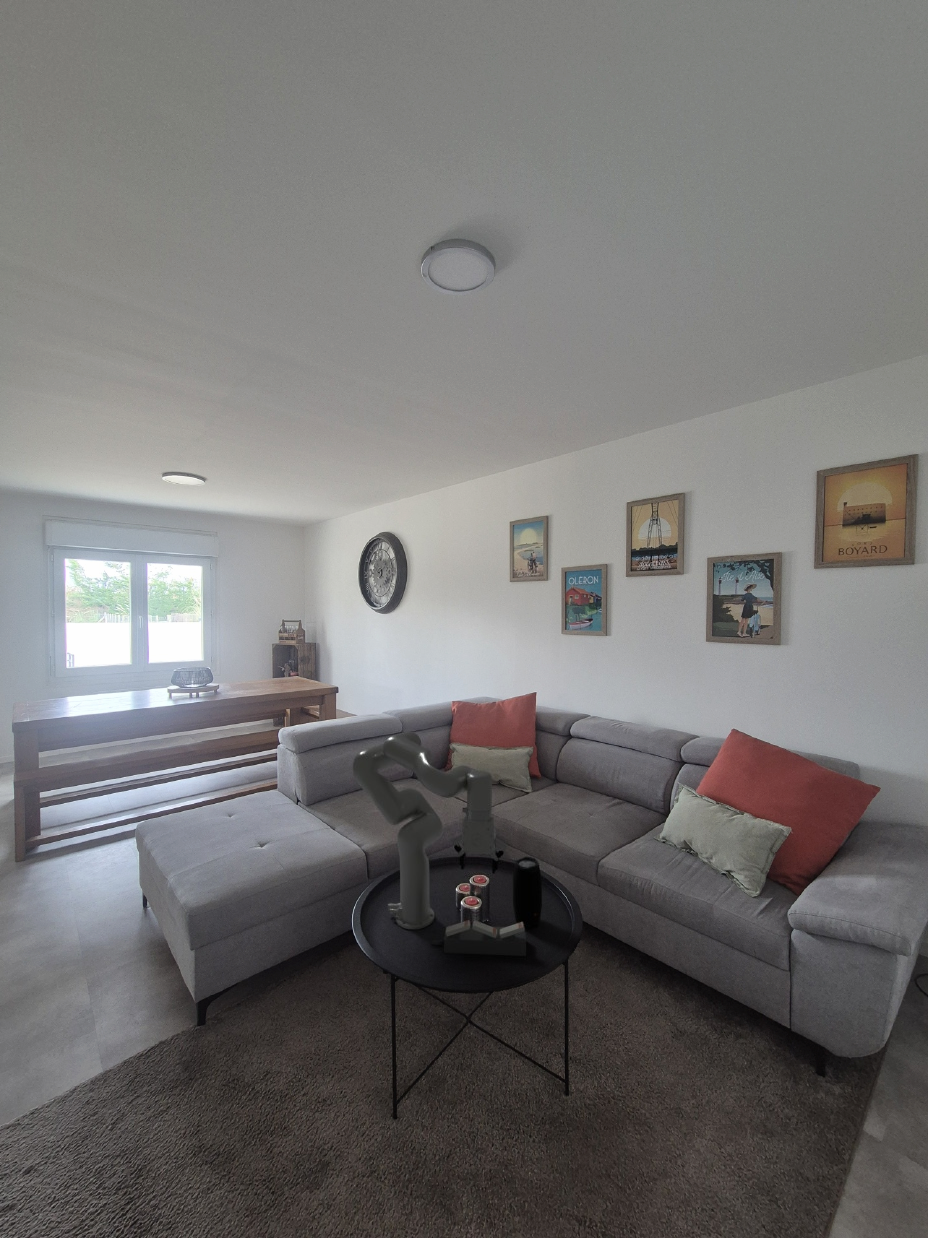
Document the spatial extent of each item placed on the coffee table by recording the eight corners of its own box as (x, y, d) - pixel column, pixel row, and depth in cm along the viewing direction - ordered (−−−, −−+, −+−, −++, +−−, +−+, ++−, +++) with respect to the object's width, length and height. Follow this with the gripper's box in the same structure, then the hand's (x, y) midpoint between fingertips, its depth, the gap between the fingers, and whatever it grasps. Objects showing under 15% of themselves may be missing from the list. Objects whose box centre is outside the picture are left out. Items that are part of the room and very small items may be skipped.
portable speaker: (544, 929, 158) (544, 867, 158) (515, 931, 157) (514, 869, 157) (538, 914, 167) (538, 855, 167) (510, 915, 166) (510, 856, 166)
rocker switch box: (430, 952, 148) (430, 934, 148) (433, 937, 155) (433, 920, 155) (526, 956, 146) (525, 938, 146) (524, 940, 153) (524, 923, 153)
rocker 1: (447, 936, 148) (445, 932, 148) (447, 931, 151) (446, 927, 151) (469, 929, 147) (468, 925, 147) (470, 923, 150) (468, 919, 150)
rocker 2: (472, 929, 147) (474, 925, 147) (473, 924, 150) (474, 920, 150) (495, 938, 147) (497, 934, 147) (495, 933, 149) (497, 929, 149)
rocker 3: (501, 938, 147) (499, 934, 147) (501, 933, 149) (499, 929, 149) (524, 931, 146) (522, 926, 146) (523, 925, 149) (522, 921, 149)
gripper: (448, 815, 150) (448, 871, 150) (505, 821, 146) (504, 879, 146) (455, 806, 158) (454, 860, 158) (509, 811, 154) (508, 867, 154)
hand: (478, 869), depth 152 cm, fingers open, 9 cm apart
